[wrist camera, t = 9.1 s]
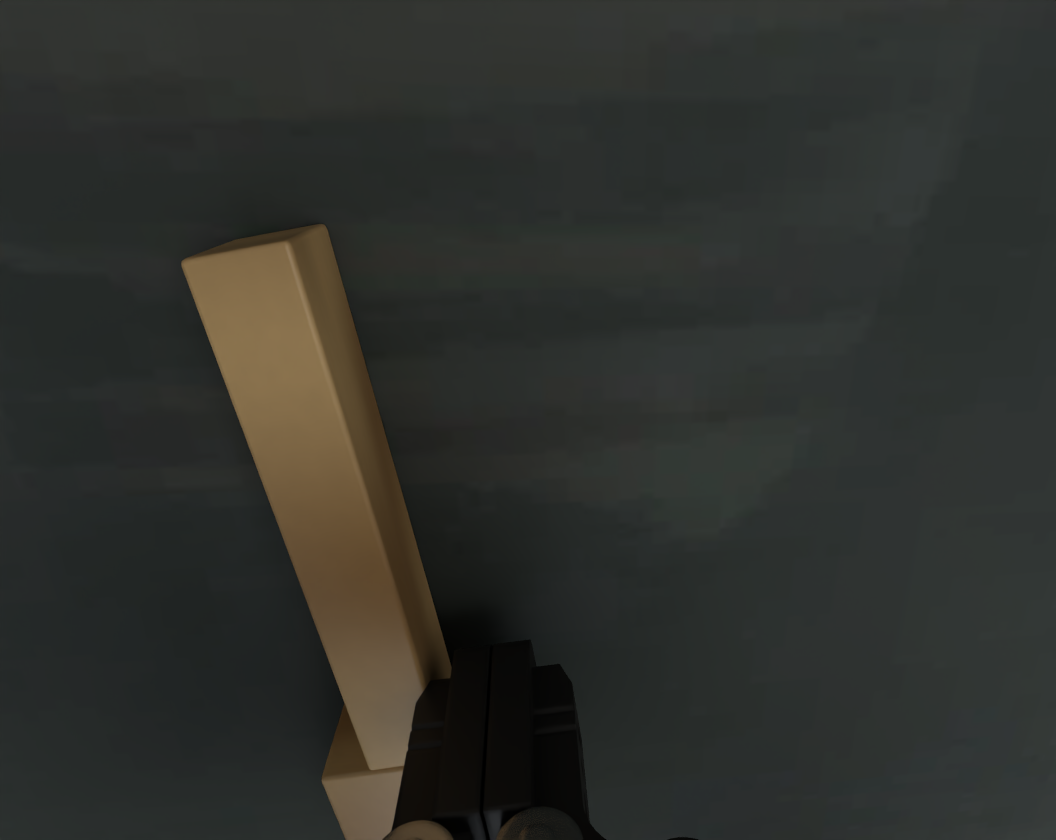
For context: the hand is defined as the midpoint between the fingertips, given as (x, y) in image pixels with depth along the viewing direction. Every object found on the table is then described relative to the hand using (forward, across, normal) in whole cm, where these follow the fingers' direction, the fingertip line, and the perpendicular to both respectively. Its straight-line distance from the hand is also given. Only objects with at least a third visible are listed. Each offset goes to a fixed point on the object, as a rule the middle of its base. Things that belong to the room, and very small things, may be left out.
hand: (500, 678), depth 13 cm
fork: (+1, +2, -1) cm, 2 cm away
